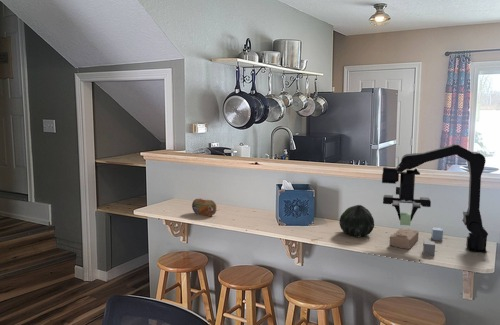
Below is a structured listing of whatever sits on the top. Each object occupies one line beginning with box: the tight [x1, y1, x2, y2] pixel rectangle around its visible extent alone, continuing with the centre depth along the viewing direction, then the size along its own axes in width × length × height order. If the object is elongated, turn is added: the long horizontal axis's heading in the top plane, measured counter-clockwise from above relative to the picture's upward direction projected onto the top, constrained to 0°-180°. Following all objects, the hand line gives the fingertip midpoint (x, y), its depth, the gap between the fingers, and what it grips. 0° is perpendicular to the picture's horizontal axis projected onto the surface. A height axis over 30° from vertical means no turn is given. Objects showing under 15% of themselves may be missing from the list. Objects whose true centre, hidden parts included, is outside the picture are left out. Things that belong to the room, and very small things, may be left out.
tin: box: [191, 198, 217, 217], centre depth 229 cm, size 15×3×8 cm, turn 55°
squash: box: [338, 204, 375, 238], centre depth 196 cm, size 14×15×15 cm
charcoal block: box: [422, 240, 436, 256], centre depth 173 cm, size 4×4×4 cm
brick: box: [389, 227, 419, 250], centre depth 186 cm, size 17×8×5 cm, turn 146°
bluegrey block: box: [431, 227, 444, 241], centre depth 191 cm, size 4×4×4 cm
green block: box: [399, 211, 412, 227], centre depth 185 cm, size 4×4×4 cm
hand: (405, 220), depth 185 cm, fingers closed on green block, 4 cm apart
